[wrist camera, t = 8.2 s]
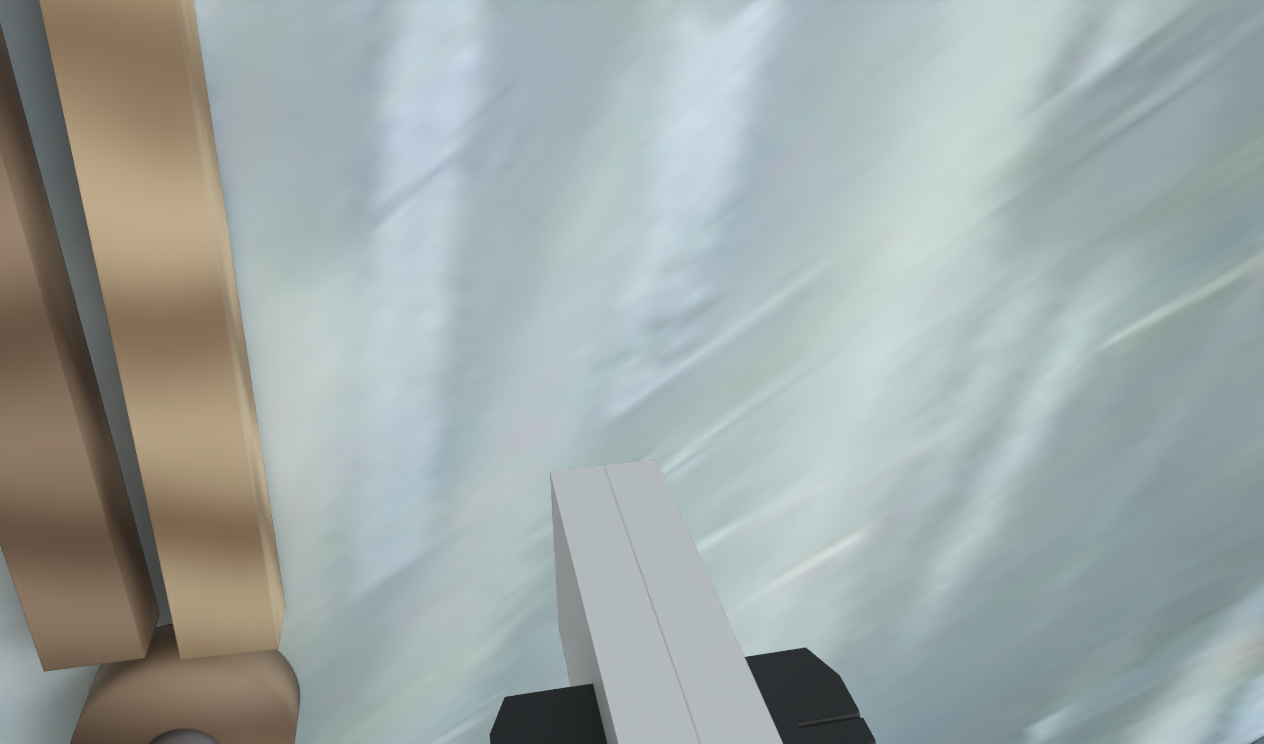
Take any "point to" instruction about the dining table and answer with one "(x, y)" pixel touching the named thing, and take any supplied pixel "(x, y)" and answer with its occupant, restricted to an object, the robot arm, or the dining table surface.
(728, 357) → the dining table surface
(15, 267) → the bar
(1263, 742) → the pale blue plant pot
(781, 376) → the dining table surface
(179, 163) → the tongs swing jaw
